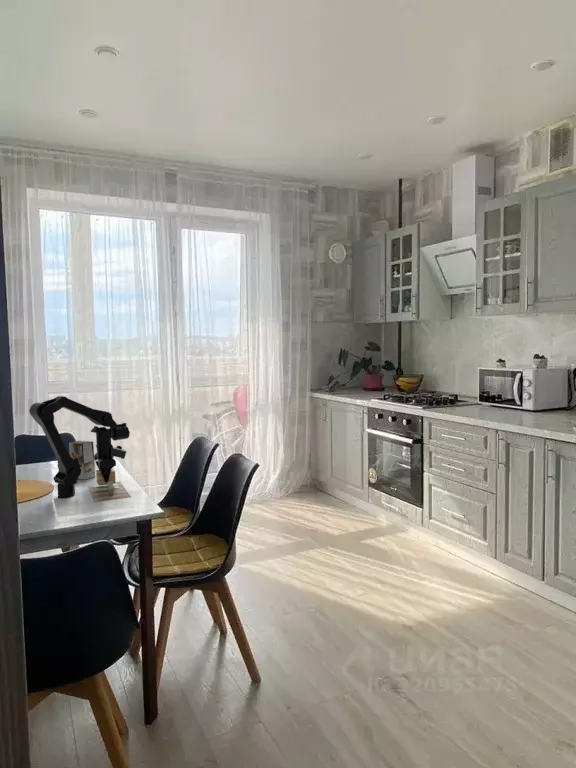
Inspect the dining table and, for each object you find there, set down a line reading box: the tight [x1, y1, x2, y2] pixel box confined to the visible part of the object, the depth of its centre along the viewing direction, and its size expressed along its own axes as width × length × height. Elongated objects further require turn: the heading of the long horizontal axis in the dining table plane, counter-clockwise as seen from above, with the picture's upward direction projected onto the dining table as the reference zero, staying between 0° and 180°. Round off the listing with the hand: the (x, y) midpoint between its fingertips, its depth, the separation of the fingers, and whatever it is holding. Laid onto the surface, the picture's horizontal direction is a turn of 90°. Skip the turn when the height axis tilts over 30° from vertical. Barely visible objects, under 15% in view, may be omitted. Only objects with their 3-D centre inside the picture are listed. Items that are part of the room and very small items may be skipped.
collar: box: [95, 467, 117, 486], centre depth 230 cm, size 6×6×5 cm
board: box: [87, 481, 132, 503], centre depth 224 cm, size 28×13×6 cm, turn 25°
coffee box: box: [68, 440, 96, 481], centre depth 254 cm, size 9×6×16 cm
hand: (105, 480), depth 230 cm, fingers closed on collar, 6 cm apart
